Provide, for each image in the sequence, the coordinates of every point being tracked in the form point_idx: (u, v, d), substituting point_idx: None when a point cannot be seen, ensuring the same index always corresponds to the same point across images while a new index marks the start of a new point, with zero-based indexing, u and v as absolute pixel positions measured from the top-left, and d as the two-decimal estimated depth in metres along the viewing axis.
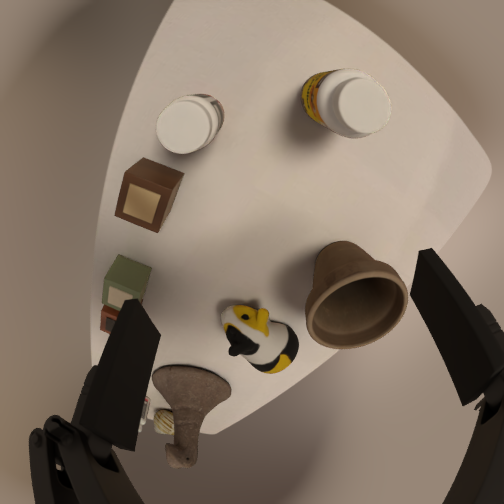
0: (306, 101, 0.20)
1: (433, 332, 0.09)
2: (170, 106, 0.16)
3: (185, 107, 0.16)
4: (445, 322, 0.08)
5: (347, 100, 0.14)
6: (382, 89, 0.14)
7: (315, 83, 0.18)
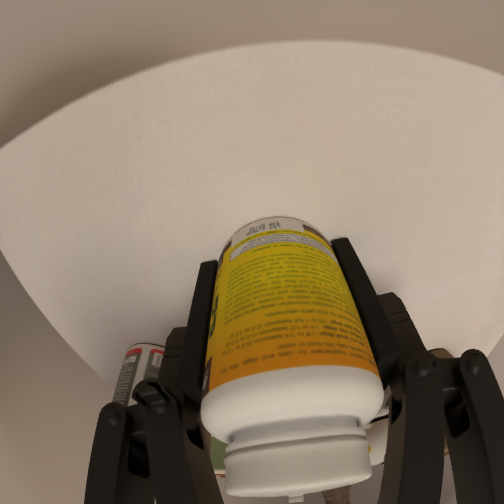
0: None
1: None
2: None
3: None
4: None
5: (254, 495, 0.05)
6: (315, 485, 0.04)
7: None
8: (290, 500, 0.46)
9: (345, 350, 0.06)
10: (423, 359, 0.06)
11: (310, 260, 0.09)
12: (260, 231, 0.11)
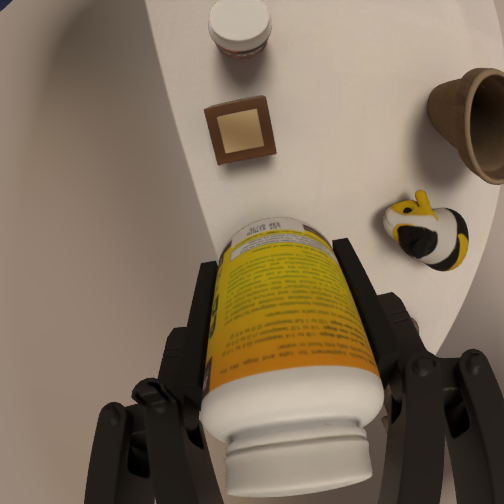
0: None
1: None
2: (214, 6, 0.12)
3: (229, 0, 0.12)
4: None
5: (254, 496, 0.05)
6: (316, 486, 0.04)
7: None
8: None
9: (345, 350, 0.06)
10: (423, 359, 0.06)
11: (310, 260, 0.09)
12: (260, 231, 0.11)
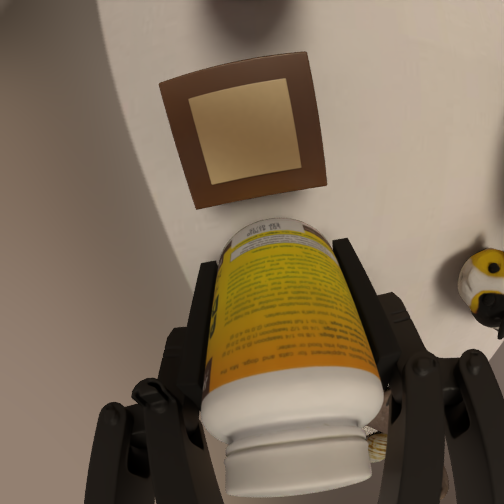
0: None
1: None
2: None
3: None
4: None
5: (254, 496, 0.05)
6: (315, 486, 0.04)
7: None
8: None
9: (345, 351, 0.06)
10: (423, 359, 0.06)
11: (310, 261, 0.09)
12: (260, 232, 0.11)
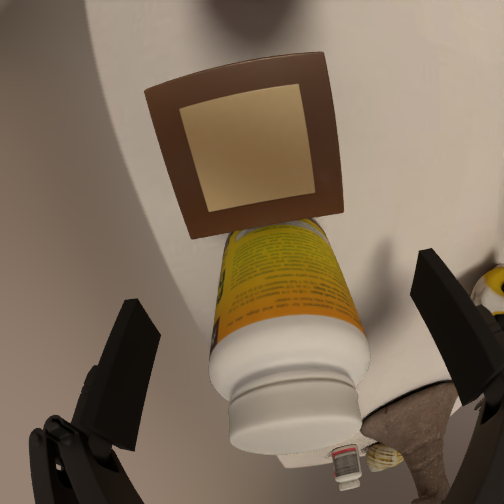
0: None
1: (433, 332, 0.09)
2: None
3: None
4: (445, 322, 0.08)
5: (254, 448, 0.07)
6: (309, 421, 0.05)
7: None
8: (343, 486, 0.33)
9: (332, 306, 0.08)
10: None
11: (304, 239, 0.11)
12: None
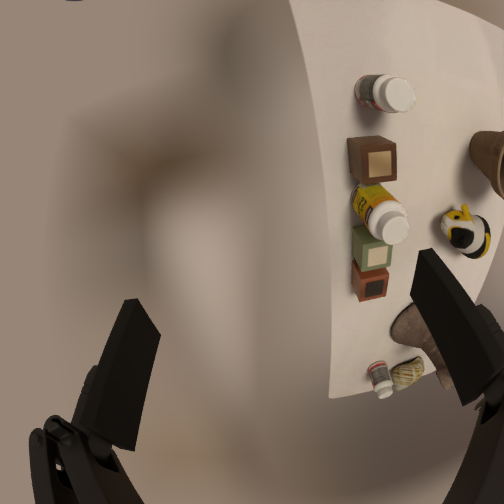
0: None
1: (433, 332, 0.09)
2: (389, 84, 0.21)
3: (397, 81, 0.21)
4: (445, 322, 0.08)
5: (386, 236, 0.29)
6: (400, 217, 0.28)
7: (362, 215, 0.33)
8: (381, 392, 0.56)
9: None
10: None
11: (383, 188, 0.33)
12: None
